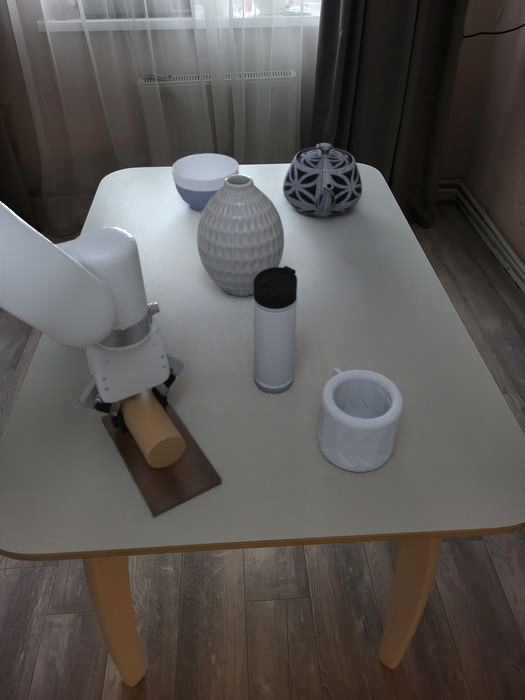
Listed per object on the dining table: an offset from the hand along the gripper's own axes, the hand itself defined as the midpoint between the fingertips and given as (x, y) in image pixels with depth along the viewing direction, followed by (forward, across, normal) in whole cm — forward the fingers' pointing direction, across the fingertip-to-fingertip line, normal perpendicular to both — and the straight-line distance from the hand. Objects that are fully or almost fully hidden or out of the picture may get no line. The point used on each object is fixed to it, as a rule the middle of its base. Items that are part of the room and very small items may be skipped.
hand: (141, 417), depth 83 cm
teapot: (+2, -65, -43) cm, 78 cm away
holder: (+1, 0, +6) cm, 6 cm away
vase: (+2, -31, -24) cm, 39 cm away
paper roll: (0, 0, +4) cm, 4 cm away
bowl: (+2, -42, -60) cm, 73 cm away
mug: (+2, -25, +18) cm, 31 cm away
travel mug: (+2, -22, +2) cm, 22 cm away
